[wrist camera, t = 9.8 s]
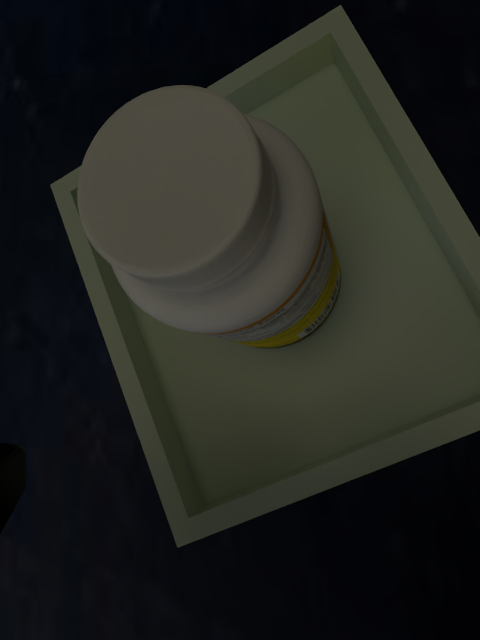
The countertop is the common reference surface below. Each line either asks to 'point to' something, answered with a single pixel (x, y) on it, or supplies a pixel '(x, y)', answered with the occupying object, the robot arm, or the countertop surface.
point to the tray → (337, 331)
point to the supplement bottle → (210, 219)
